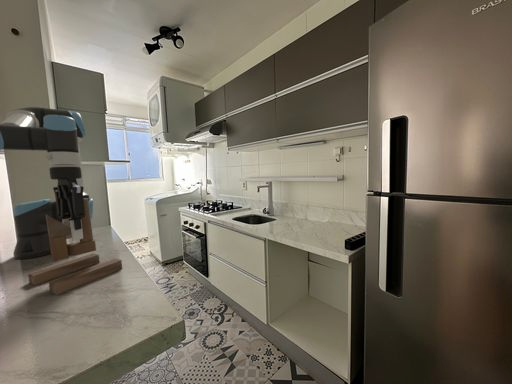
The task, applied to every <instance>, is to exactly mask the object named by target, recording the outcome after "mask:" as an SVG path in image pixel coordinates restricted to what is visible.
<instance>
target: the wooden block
mask: <svg viewBox="0 0 512 384" xmlns="http://www.w3.org/2000/svg"><path fill="white" fill-rule="evenodd" d="M83 199H84V209H85V217H82V219H81V221H82V230H83V239H79V241H76V242H73V243H68V242H67V239H66V236H65V235H71V227H69V226H67V225H65V224H63V223H61V222H59V221H58V220H56V219H54V218H52V217H50V216H48V215H46V221H47V228H48V234H49V242H50V248H51V254H50V256H51V259H52V261H53V262H57V261H60V260H62V261H63V260H65V259H68V258H69V257H75V256H79V255H83V254H88V253H92V252H95V251H97V246H96V240H94V235H93V229H92V228H93V227H92V220H91V219H90V212H89V204H88V199H87V198H83ZM67 243H68V244H67Z"/></svg>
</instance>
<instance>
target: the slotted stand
mask: <svg viewBox="0 0 512 384" xmlns="http://www.w3.org/2000/svg"><path fill="white" fill-rule="evenodd" d="M122 263H123V262H122V259H118V258H112V259H109V260H105V261H103V262H100V255H99V254H97V253H92V252H91V253H90V254H87V255H83V256H80V257H76V258H73V259H70V260H67V261H64V262H60V263H57V264H54V265H51V266H47V267H44V268H42V269H38V270H35V271H32V272H28V274H27V275H28V281H29V284H31V285H33V286H37V285H39V284H42V283H45V282H48V287H49V293H51V294H52V295H55V296H59V295H61V294H62V293H66V292H68V291H71V290H72V289H75V288H77V287H80V286H82V285H85V284H88V283H90V282H93V281H94V280H97V279H99V278H102V277H104V276H107V275H110V274H112V273H114V272H116V271H119V270H122V269H123V264H122Z"/></svg>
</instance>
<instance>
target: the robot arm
mask: <svg viewBox="0 0 512 384" xmlns="http://www.w3.org/2000/svg"><path fill="white" fill-rule="evenodd" d="M85 129H86V128H85V125H84V121H83V118H82V115H81V114H80V113H79V112H77V111H73V110H68V109H65V110H64V109H55V108H49V107H48V108H47V107H38V106H29V107H21V108H16V109H13V110H11V111H9V112H8V113H7V114H6V115H5V119H4V120H3V121H2V122H0V151H42V152H43V151H46V152H47V155H45V157H46V159H48V165H49V166H50V168H49V169H48V170H49V178H50V179H51V180H57V186H54V187H53V192H54V198H55V201H52V200H51V199H52V198H45V199H38V200H32V201H28V202H27V201H26V202H23V203H18V204H16V205H15V206H14V207H13V214H14V215H13V217H14V220H15V221H14V223H15V228H16V229H15V230H16V234H17V240H16V244H15V247H14V249H13V258H14V259H16V260H26V259H27V260H28V259H34V258H38V257H39V258H40V257H43V256H47V255H51V248H50V242H49V234H48V228H47V221H46V215H48V216H50V217H52V218H54V219H56V220H58V221H59V222H61V223H63V224H65V225H67V226H69V227H71V235H65V236H66V240H69V239H71V240H72V241H73V242H74V241H80V239H83V230H82V221H81V219H82V217H85V209H84V199H83V198H87V199H88V204H89V212H90V219H91V221H92V219H93V216H94V215H93V214H94V198H91V197H90V194H88V193H87V192H86V191H85V183H84V175H83V167H82V156H81V147H80V143H81V142H82V141H83V139H84V137H86V136H87V134H86V130H85Z"/></svg>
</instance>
